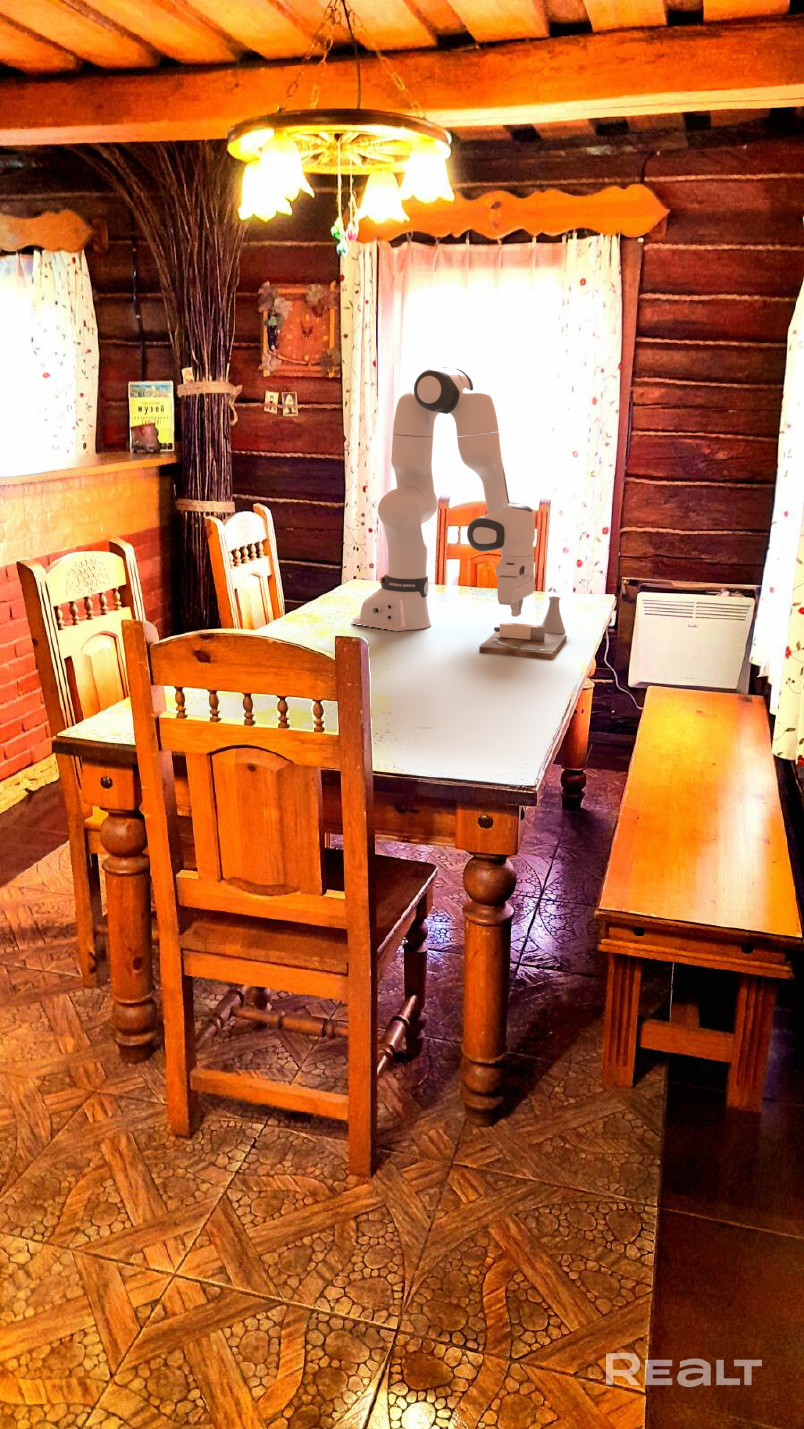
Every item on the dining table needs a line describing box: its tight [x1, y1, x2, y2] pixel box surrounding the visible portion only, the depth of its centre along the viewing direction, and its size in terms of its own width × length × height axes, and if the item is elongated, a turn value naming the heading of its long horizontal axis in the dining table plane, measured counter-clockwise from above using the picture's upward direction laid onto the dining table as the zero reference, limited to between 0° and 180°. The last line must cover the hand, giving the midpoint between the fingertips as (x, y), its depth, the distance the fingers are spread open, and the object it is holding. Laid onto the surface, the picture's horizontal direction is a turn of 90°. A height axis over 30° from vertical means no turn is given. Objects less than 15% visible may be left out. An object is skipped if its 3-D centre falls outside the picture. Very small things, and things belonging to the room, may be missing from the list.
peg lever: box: [493, 621, 545, 641], centre depth 278 cm, size 14×4×4 cm, turn 72°
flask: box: [541, 595, 566, 635], centre depth 292 cm, size 7×7×10 cm
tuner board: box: [478, 631, 568, 660], centre depth 277 cm, size 19×22×2 cm
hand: (516, 615), depth 283 cm, fingers closed
